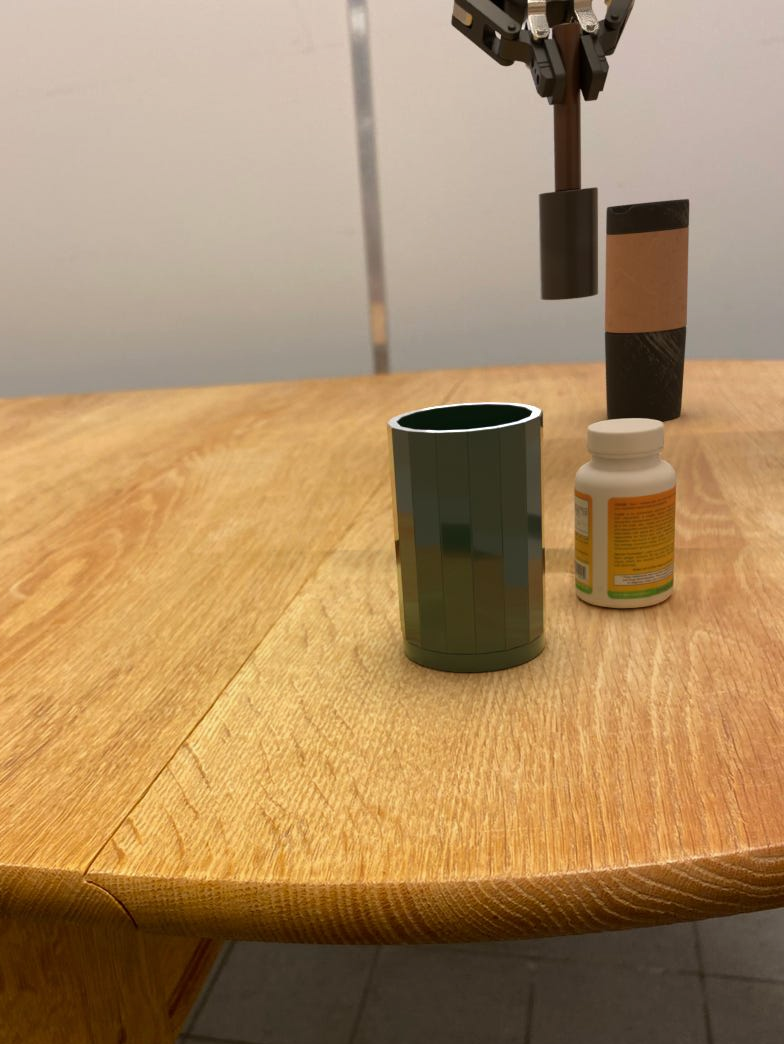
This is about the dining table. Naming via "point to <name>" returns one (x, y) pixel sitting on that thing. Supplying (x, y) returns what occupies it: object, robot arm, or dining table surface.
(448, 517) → the cup
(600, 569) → the supplement bottle
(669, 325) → the travel mug
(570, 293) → the peg on round base
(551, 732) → the dining table surface
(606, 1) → the robot arm
